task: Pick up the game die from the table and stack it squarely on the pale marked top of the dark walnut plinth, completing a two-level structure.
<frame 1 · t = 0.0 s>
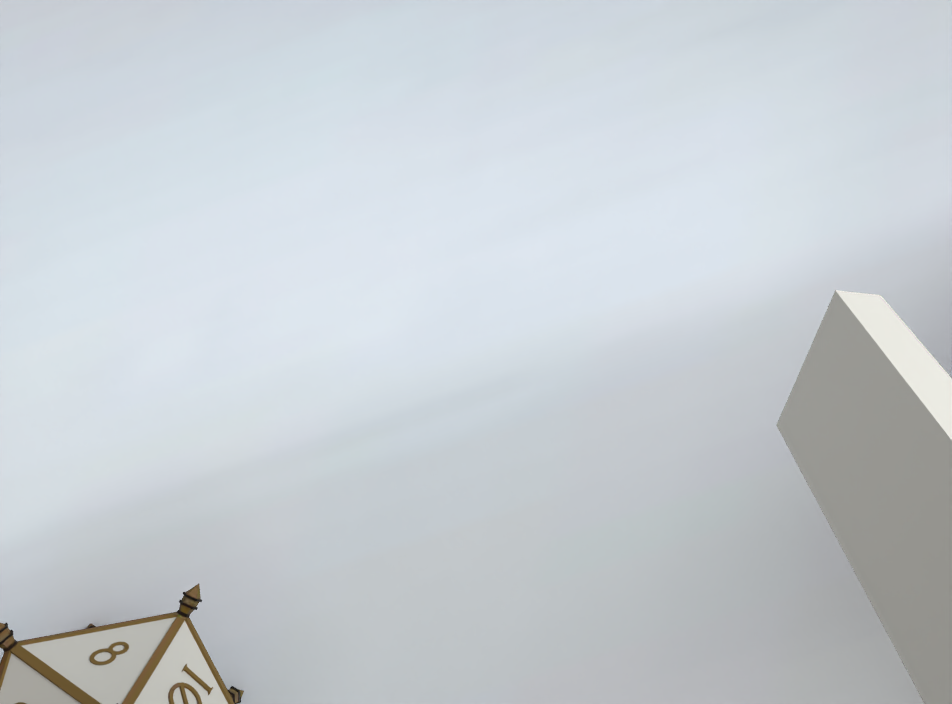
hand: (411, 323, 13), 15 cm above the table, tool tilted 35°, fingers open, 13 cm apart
game die: (147, 699, 28), on the table
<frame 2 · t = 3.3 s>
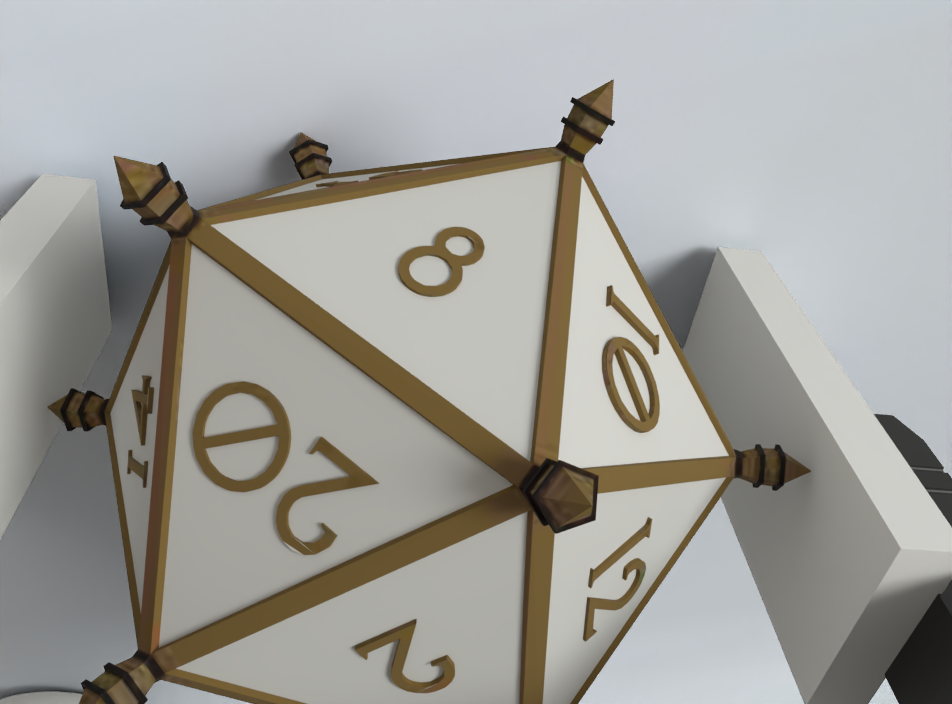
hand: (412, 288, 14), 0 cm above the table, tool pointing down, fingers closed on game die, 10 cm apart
game die: (412, 276, 15), on the table, touching gripper
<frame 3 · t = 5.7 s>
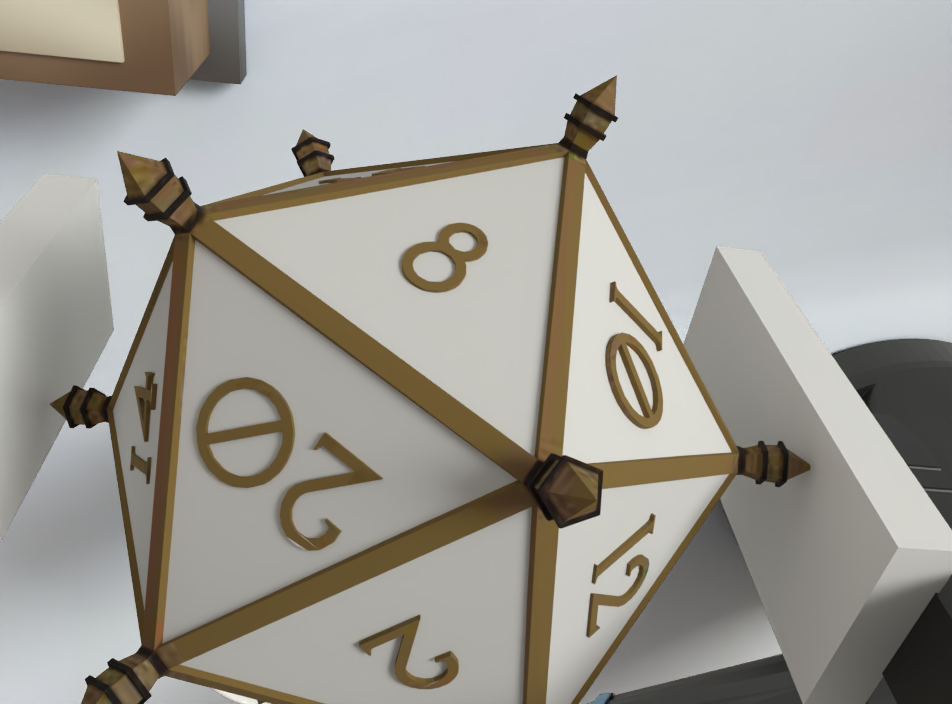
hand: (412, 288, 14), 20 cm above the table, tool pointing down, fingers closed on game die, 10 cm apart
game die: (414, 274, 15), point 20 cm above the table, touching gripper
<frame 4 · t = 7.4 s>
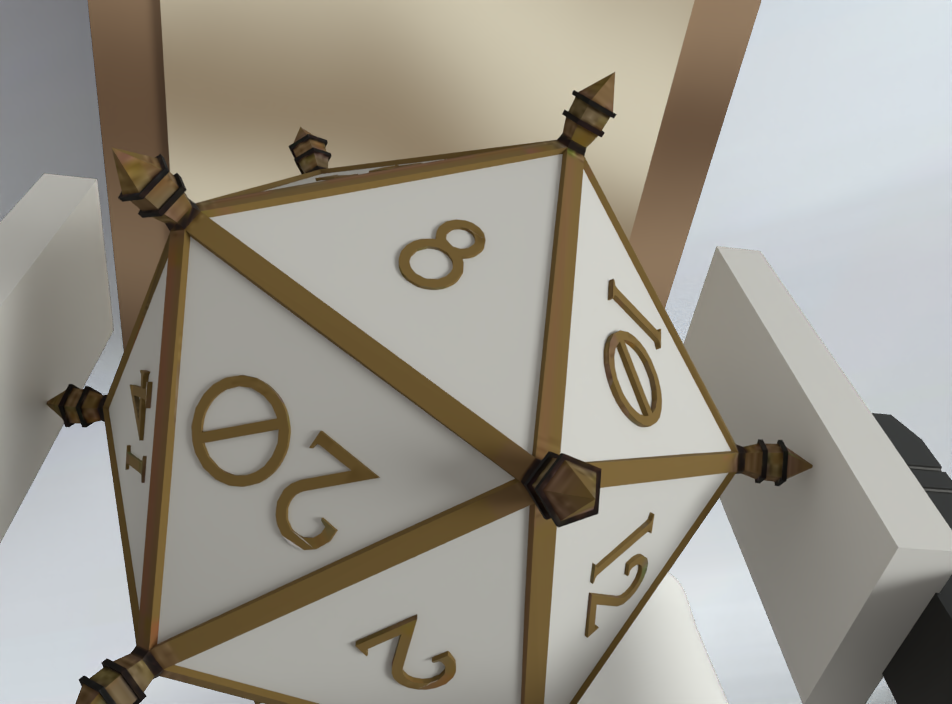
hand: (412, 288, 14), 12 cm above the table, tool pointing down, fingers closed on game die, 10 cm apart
plinth: (415, 73, 24), on the table
game die: (412, 272, 14), point 11 cm above the table, touching gripper
drinking glass: (619, 593, 37), on the table
when the fingers open (8 cm above the table, at t = 8.7 s): game die drops 1 cm, resting on plinth.
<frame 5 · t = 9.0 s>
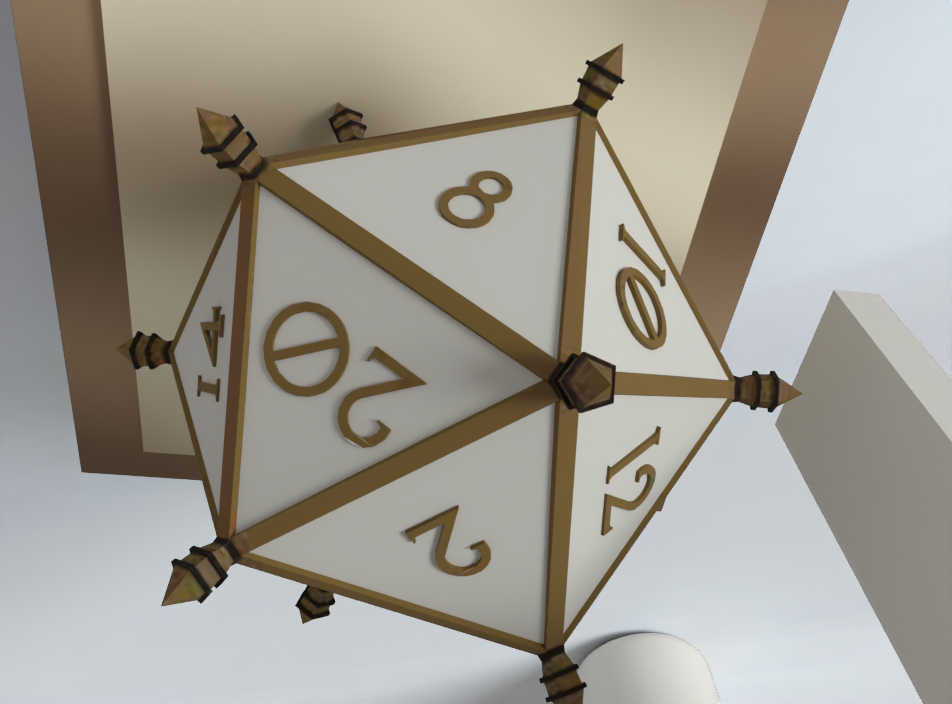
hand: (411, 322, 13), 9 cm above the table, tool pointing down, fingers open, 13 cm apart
plinth: (414, 117, 21), on the table
game die: (437, 236, 16), point 6 cm above the table, touching plinth
drinking glass: (636, 663, 34), on the table
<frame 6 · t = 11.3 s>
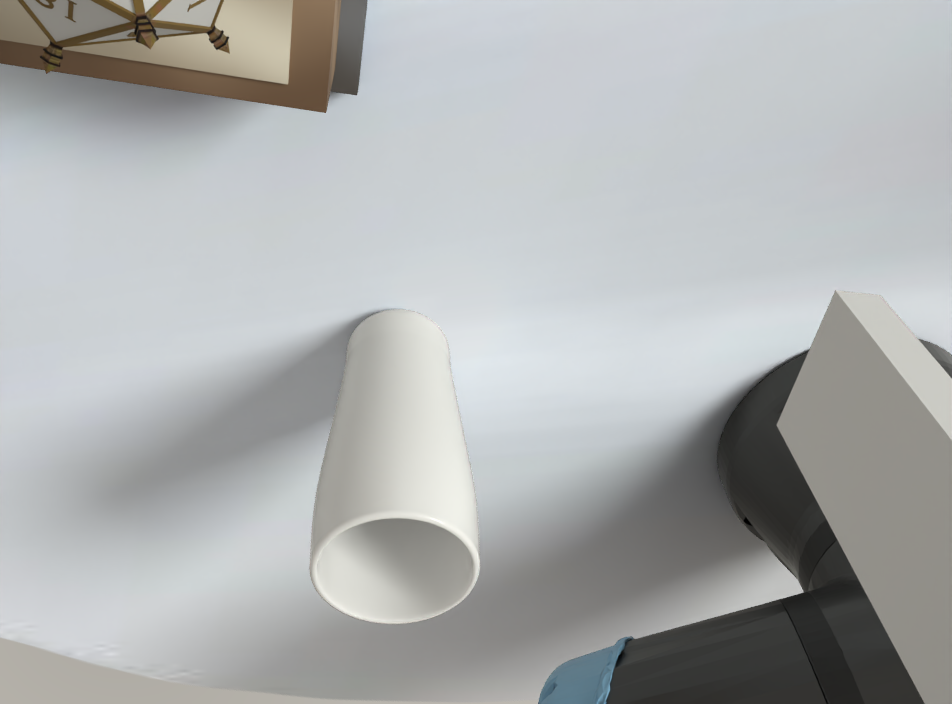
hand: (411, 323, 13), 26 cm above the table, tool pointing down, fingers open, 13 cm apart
drinking glass: (398, 343, 46), on the table
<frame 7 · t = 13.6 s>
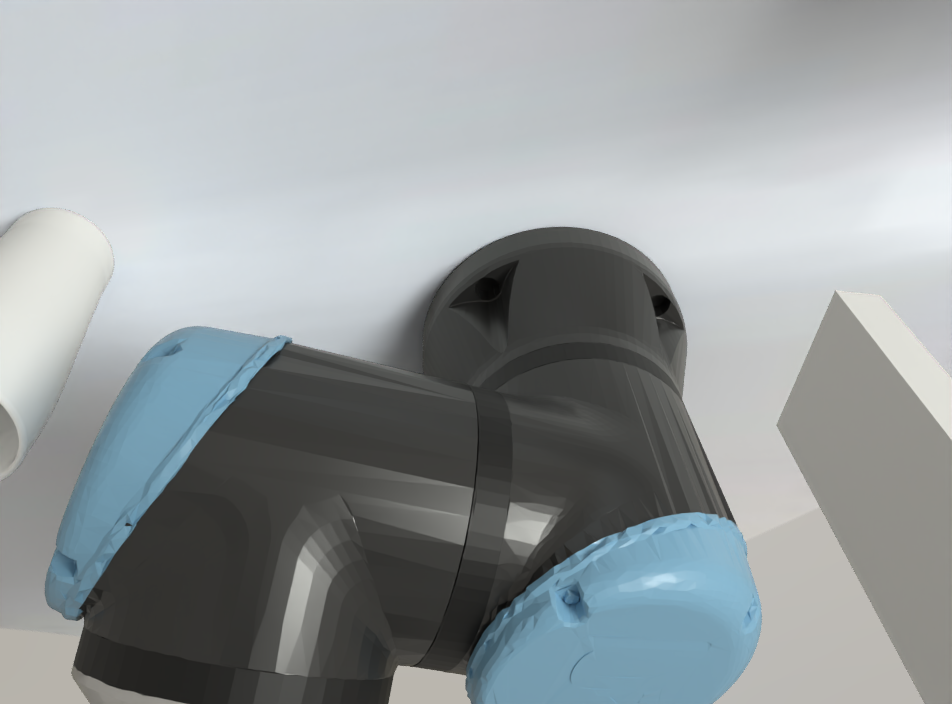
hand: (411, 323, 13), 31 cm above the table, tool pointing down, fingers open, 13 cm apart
drinking glass: (67, 247, 46), on the table
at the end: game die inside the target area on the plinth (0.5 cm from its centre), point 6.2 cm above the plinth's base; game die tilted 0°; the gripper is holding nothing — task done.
